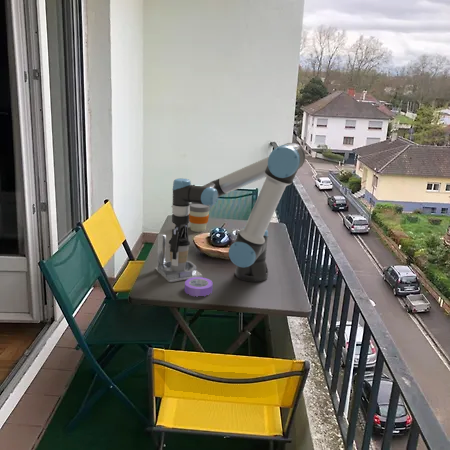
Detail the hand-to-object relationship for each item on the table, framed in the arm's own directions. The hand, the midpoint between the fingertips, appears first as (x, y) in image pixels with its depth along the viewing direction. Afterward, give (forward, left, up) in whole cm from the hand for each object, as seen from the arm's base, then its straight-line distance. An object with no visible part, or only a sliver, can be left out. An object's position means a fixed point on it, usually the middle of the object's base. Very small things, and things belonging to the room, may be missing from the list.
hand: (179, 261), depth 207 cm
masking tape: (-20, 0, -6) cm, 21 cm away
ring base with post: (0, 0, -6) cm, 6 cm away
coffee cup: (-1, +1, -4) cm, 5 cm away
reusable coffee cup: (+55, -38, -6) cm, 67 cm away
